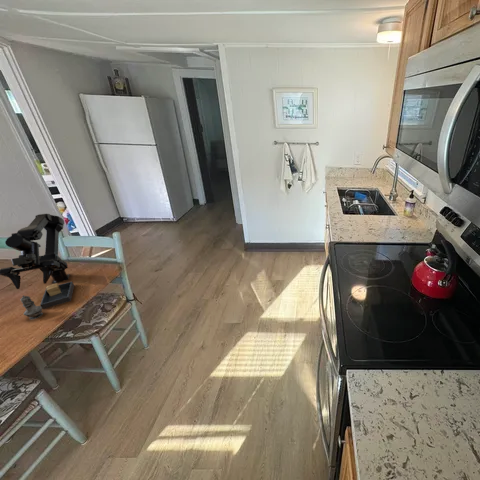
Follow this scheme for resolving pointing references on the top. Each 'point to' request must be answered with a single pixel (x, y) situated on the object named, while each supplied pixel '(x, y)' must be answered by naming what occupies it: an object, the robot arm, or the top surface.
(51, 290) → the block
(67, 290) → the tray
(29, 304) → the grey statuette
